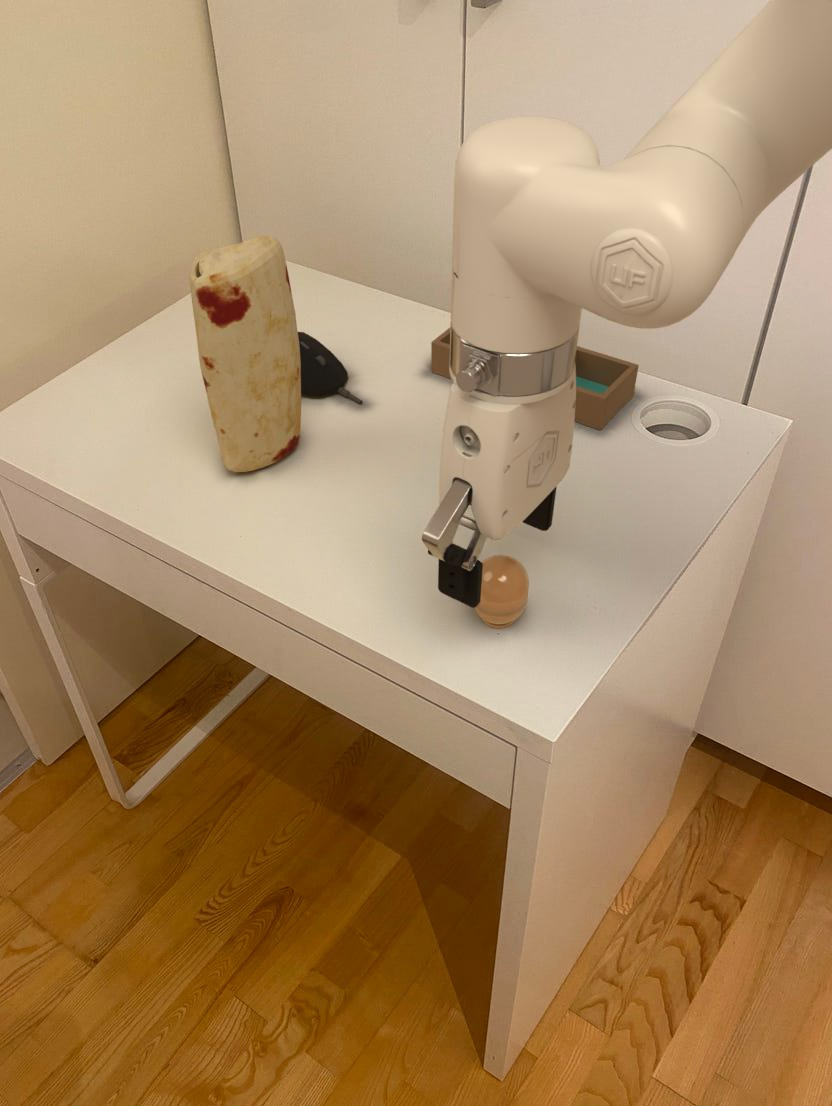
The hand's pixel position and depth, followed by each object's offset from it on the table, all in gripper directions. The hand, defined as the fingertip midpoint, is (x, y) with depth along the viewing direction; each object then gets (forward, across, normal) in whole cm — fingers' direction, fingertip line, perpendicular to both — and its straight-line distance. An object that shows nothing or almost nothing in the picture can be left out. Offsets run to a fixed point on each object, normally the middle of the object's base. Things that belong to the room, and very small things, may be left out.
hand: (496, 558), depth 72 cm
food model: (+6, +6, +28) cm, 30 cm away
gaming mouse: (+6, +18, +33) cm, 38 cm away
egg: (+6, 0, 0) cm, 6 cm away
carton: (+6, +29, +14) cm, 33 cm away
